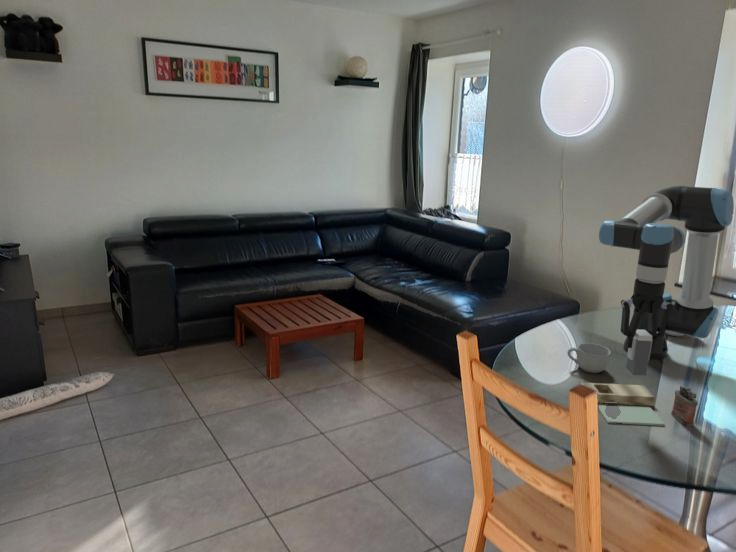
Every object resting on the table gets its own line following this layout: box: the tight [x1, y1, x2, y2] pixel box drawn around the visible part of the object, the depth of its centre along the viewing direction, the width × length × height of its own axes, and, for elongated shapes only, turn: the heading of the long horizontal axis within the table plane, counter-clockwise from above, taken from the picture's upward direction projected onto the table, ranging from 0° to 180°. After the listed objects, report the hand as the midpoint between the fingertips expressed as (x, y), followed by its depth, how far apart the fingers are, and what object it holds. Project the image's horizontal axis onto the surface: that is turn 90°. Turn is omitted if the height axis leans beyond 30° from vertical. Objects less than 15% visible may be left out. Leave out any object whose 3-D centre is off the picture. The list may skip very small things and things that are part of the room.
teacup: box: [567, 342, 611, 374], centre depth 193 cm, size 14×11×8 cm
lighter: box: [670, 384, 699, 428], centre depth 159 cm, size 8×3×10 cm, turn 5°
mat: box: [598, 404, 666, 427], centre depth 162 cm, size 16×10×1 cm, turn 86°
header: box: [579, 382, 656, 407], centre depth 173 cm, size 20×8×3 cm, turn 86°
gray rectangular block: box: [625, 329, 652, 376], centre depth 157 cm, size 4×5×12 cm
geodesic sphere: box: [665, 330, 686, 338], centre depth 227 cm, size 15×14×14 cm
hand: (637, 358), depth 158 cm, fingers closed on gray rectangular block, 4 cm apart
